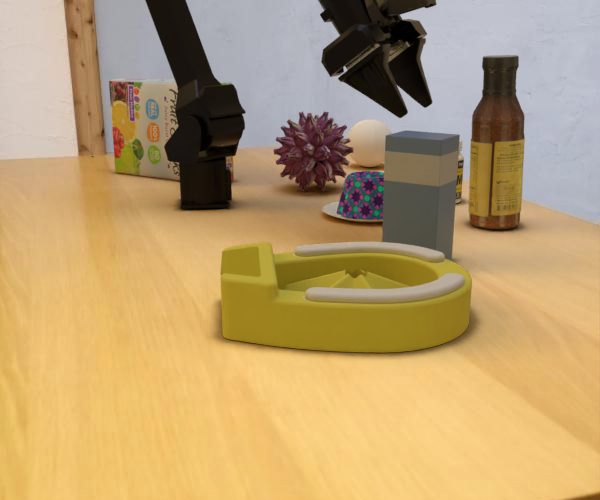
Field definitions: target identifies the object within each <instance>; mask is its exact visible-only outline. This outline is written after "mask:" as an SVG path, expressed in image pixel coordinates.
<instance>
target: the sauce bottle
mask: <svg viewBox="0 0 600 500" xmlns="http://www.w3.org/2000/svg"><path fill="white" fill-rule="evenodd" d="M519 58H520V57H519V55H517V54H501V55H499V54H497V55H494V54H493V55H484V56H482V62H481V68H482V70H483V81H482V90H481V94H482V95H481V96H482V97H481V99H480V101H479V102H478V104H476V105H477V106H476V107H475V108H474V110H473V112H472V116H471V117H472V118H471V138H470V149H469V150H470V151H469V154H470V155H469V186H468V190H469V191H468V214H469V222H470V224H471V225H472V226H474V227H476V228H482V229H486V230H508V229H513V228H515V227H517V226H518V225H520V222H521V212H522V202H523V201H522V200H523V199H522V198H523V182H524V181H523V178H524V161H525V160H524V159H525V140H526V139H525V113H524V111H523V109H522V106H521V105H520V102H519V99H518V96H517V88H516V87H517V73H518V72H517V71H518V69H519V65H520V64H519V62H520V60H519Z"/></svg>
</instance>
